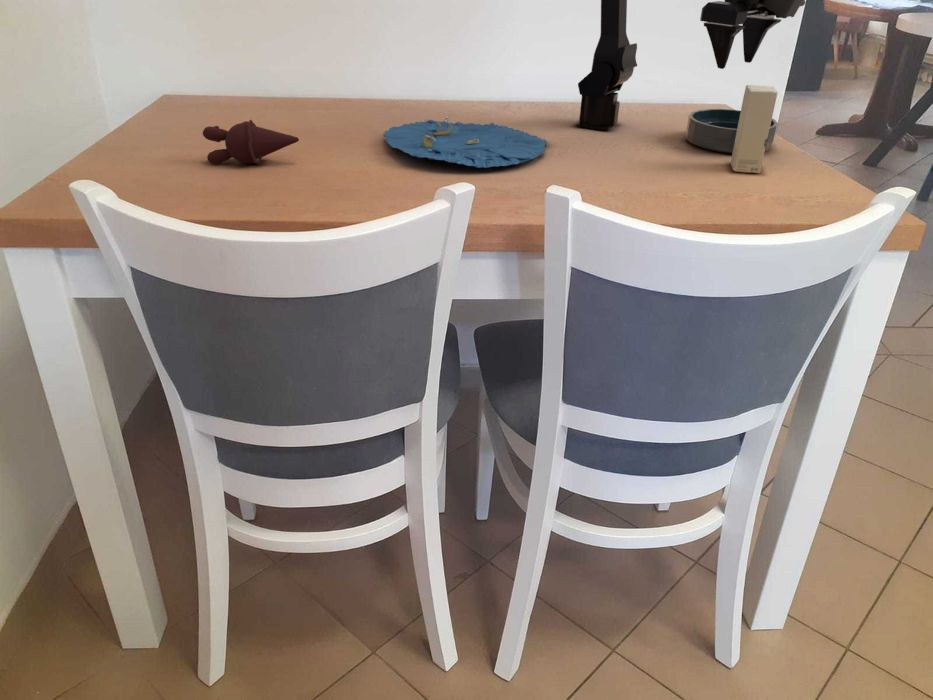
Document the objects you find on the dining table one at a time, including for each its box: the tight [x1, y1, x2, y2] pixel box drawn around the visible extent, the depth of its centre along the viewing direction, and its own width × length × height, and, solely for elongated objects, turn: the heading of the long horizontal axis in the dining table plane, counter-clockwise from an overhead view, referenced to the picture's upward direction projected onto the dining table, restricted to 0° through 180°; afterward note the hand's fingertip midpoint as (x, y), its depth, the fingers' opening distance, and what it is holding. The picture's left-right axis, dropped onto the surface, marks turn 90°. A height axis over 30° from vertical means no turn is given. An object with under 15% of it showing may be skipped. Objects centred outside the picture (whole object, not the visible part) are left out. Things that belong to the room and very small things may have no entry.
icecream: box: [202, 119, 300, 165], centre depth 117 cm, size 7×7×15 cm
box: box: [730, 84, 779, 174], centre depth 119 cm, size 5×4×13 cm
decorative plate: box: [382, 116, 548, 169], centre depth 128 cm, size 30×30×5 cm
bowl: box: [684, 108, 779, 154], centre depth 134 cm, size 15×15×4 cm
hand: (734, 65), depth 126 cm, fingers open, 9 cm apart
